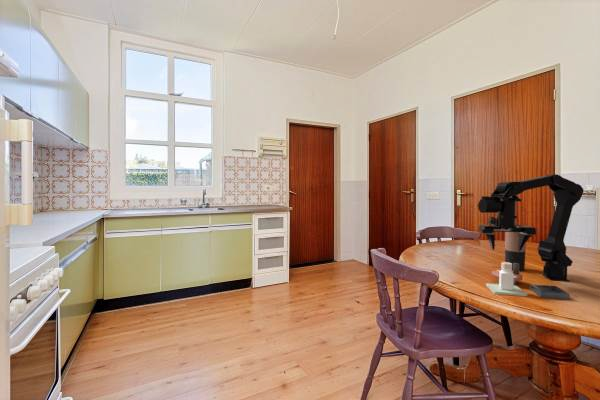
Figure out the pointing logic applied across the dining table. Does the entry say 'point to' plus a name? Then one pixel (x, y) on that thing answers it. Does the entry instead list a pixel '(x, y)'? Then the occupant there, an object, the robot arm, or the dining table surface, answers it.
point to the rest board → (497, 290)
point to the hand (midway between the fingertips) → (506, 250)
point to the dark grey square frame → (549, 291)
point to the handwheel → (515, 271)
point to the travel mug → (514, 249)
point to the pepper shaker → (506, 276)
